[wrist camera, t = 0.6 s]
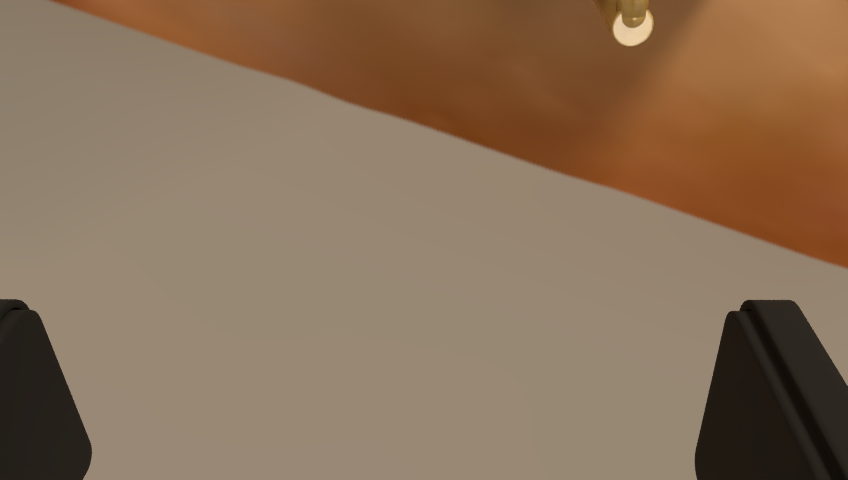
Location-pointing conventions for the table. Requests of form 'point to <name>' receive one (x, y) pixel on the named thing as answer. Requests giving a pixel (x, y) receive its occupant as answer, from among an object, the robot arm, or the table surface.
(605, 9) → the drawer
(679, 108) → the table surface
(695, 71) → the table surface
